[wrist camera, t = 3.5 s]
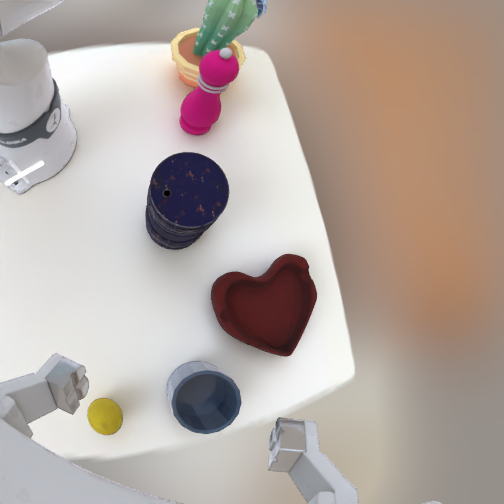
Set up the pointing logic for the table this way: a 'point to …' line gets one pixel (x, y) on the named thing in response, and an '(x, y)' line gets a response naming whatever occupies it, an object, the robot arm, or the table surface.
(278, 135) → the table surface
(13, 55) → the robot arm
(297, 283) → the ashtray
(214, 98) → the pepper mill
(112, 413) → the lemon
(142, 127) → the table surface
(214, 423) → the cup
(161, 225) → the dark blue barrel
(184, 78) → the potted cactus
